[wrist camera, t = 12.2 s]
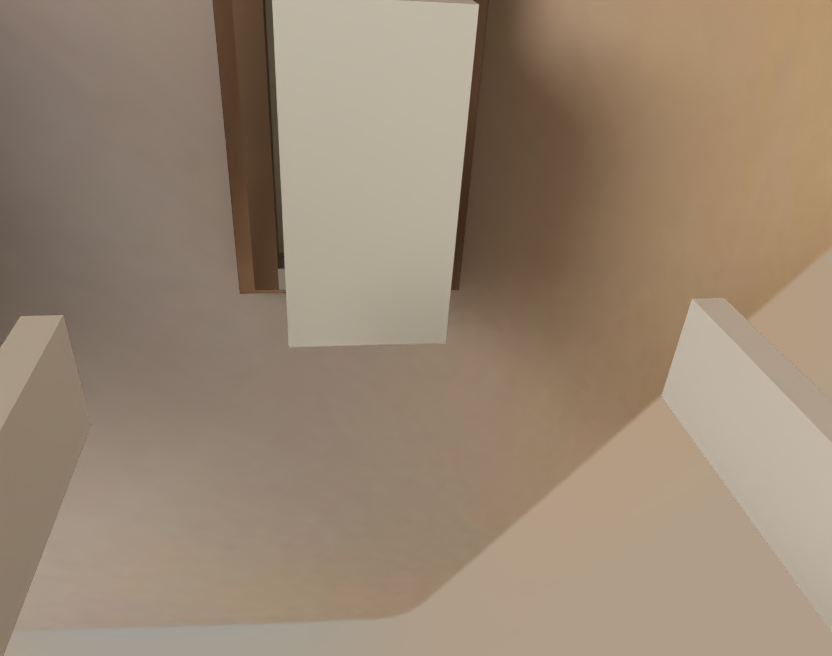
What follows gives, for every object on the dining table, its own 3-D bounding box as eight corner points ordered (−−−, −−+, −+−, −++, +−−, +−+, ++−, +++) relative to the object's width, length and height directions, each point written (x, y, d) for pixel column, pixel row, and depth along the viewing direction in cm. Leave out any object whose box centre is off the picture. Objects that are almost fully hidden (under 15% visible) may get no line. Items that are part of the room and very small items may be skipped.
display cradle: (242, 280, 38) (236, 312, 35) (202, -161, 27) (190, -168, 24) (453, 277, 40) (465, 307, 37) (494, -139, 29) (515, -143, 26)
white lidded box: (292, 227, 35) (288, 347, 26) (282, -40, 28) (271, -7, 19) (409, 227, 36) (446, 343, 26) (425, -32, 29) (480, 3, 20)
